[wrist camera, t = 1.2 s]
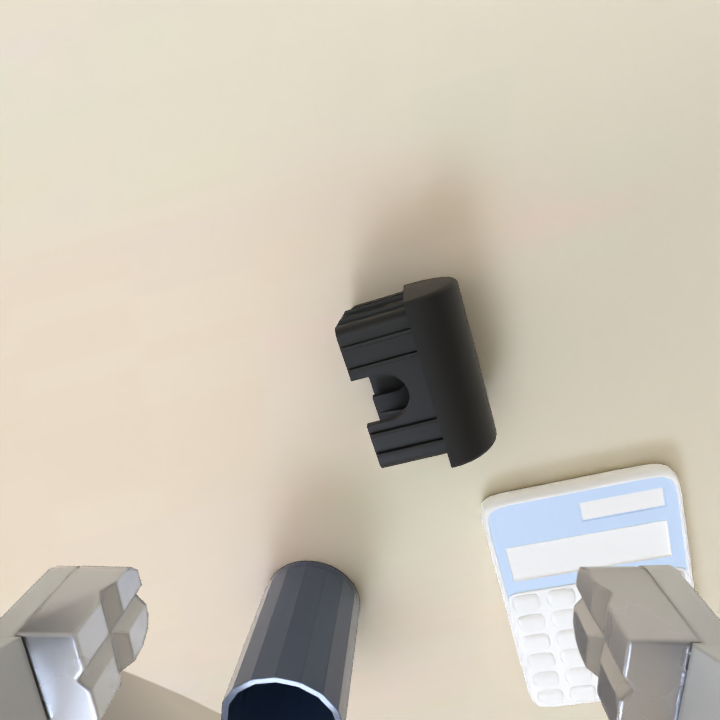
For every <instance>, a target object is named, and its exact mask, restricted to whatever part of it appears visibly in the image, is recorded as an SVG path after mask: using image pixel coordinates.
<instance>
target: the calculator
mask: <svg viewBox="0 0 720 720" xmlns="http://www.w3.org/2000/svg"><path fill="white" fill-rule="evenodd" d="M481 518H482V522H483V527H484V530H485V534H486V538H487V542H488V545H489V549H490V553H491V556H492V560H493V564H494V568H495V571H496V575H497V579H498V582H499V586H500V590H501V593H502V597H503V601H504V604H505V608H506V612H507V616H508V619H509V623H510V627H511V630H512V634H513V638H514V641H515V645H516V649H517V652H518V656H519V660H520V664H521V667H522V671H523V675H524V678H525V682H526V685H527V689H528V692H529V695H530V697H531V699H532V700H533V702H534V703H535V704H536V705H538V706H542V707H555V706H565V705H573V704H582V703H591V702H599V701H600V698H599V696H598V694H597V685H598V677H597V676H596V675H595V674H594V673H592V672H591V671H590V670H589V669H588V668H586V667H585V665H584V662H583V660H582V658H581V655H580V653H579V650H578V647H577V643H576V640H575V634H574V626H573V612H574V605H575V604H576V603H577V602H578V601H579V600H580V599H581V598H582V597H581V595H580V593H579V591H578V589H577V587H576V580H577V573H578V571H579V569H580V567H603V566H641V565H671V566H672V567H674V568H676V569H677V570H678V571H679V572H680V573H681V575H682V576H683V577H684V578H685V579H686V580H687V582H688V583H689V584H690V585H691V586H692V588H693V589H694V583H693V575H692V567H691V560H690V552H689V544H688V537H687V529H686V521H685V513H684V506H683V499H682V492H681V487H680V483H679V480H678V478H677V476H676V474H675V473H674V472H673V471H672V470H671V469H670V468H669V467H668V466H665V465H662V464H646V465H640V466H634V467H629V468H624V469H619V470H614V471H609V472H604V473H599V474H594V475H589V476H584V477H579V478H574V479H569V480H564V481H559V482H554V483H549V484H544V485H539V486H534V487H529V488H524V489H519V490H514V491H509V492H504V493H500V494H496V495H493V496H490V497H488V498H486V499H485V500H484V501H483V502H482V505H481Z"/></svg>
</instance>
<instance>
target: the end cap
mask: <svg viewBox="0 0 720 720" xmlns="http://www.w3.org/2000/svg"><path fill="white" fill-rule="evenodd" d="M335 332H336V338H337V341H338V344H339V347H340V350H341V353H342V355H343V358H344V361H345V364H346V367H347V370H348V373H349V376H350V379H351V381H354V380H358V379H362V378H366V377H369V379H370V382H371V385H372V388H373V391H374V394H375V395H373V400H374V403H375V406H376V409H377V412H378V415H379V418H380V421H376V422H372V423H368V424H367V428H368V431H369V434H370V437H371V440H372V443H373V446H374V449H375V452H376V455H377V458H378V461H379V463H380V466H381V467H382V468H384V467H389V466H393V465H398V464H402V463H406V462H411V461H415V460H419V459H424V458H428V457H432V456H437V455H441V454H446V453H447V454H448V457H449V460H450V464H451V467H452V468H453V467H457V466H461V465H463V464H466V463H468V462H471V461H473V460H475V459H477V458H478V457H480V456H481V455H483V454H484V453H485V452H487V451H488V450H489V449H490V447H491V446H492V445H493V443H494V442H495V439H496V435H497V433H496V428H495V424H494V420H493V416H492V412H491V408H490V405H489V401H488V397H487V393H486V389H485V385H484V381H483V378H482V374H481V370H480V366H479V362H478V358H477V355H476V351H475V347H474V343H473V339H472V335H471V331H470V328H469V324H468V320H467V316H466V312H465V308H464V305H463V301H462V297H461V293H460V289H459V285H458V282H457V280H456V279H454V278H452V277H438V278H432V279H427V280H422V281H418V282H414V283H410V284H407V285H404V291H403V292H400V293H396V294H393V295H390V296H386V297H383V298H380V299H376V300H373V301H370V302H366V303H363V304H360V305H356V306H354V307H353V308H352V309H351V310H348V311H345V313H344V315H343V316H342V319H340V321H339V323H338V324H337V326H336V328H335Z"/></svg>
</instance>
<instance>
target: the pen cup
mask: <svg viewBox="0 0 720 720" xmlns="http://www.w3.org/2000/svg"><path fill="white" fill-rule="evenodd" d="M359 605H360V604H359V596H358V593H357V590H356V588H355V587H354V585H353V583H352V582H351V581H350V580H349V579H348V578H347V577H346V576H345V575H344V574H343V573H342V572H340V571H339V570H337V569H336V568H333V567H331V566H329V565H326V564H323V563H319V562H313V561H301V562H295V563H291V564H288V565H286V566H284V567H282V568H281V569H279V570H278V571H277V572H276V573H275V574H274V575H273V576H272V577H271V579H270V581H269V583H268V586H267V587H266V589H265V591H264V594H263V596H262V599H261V602H260V604H259V607H258V610H257V612H256V615H255V618H254V620H253V623H252V625H251V628H250V631H249V633H248V636H247V639H246V641H245V644H244V647H243V649H242V652H241V655H240V657H239V660H238V663H237V665H236V668H235V670H234V673H233V676H232V678H231V681H230V684H229V686H228V689H227V692H226V694H225V697H224V700H223V702H222V714H221V720H346V715H347V707H348V699H349V690H350V682H351V674H352V666H353V658H354V650H355V642H356V633H357V625H358V617H359V609H360V607H359Z"/></svg>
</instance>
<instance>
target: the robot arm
mask: <svg viewBox="0 0 720 720" xmlns="http://www.w3.org/2000/svg"><path fill="white" fill-rule="evenodd" d="M141 585H142V584H141V580H140V576H139V572H138V570H137V569H134V568H132V567H110V566H56V567H54V568H51V569H49V570H48V571H47V572H46V573H45V574H44V575H43V576H42V577H41V578H40V579H39V580H38V581H37V582H36V583H35V584H34V585H33V586H32V587H31V588H30V589H29V590H28V591H27V592H26V593H25V594H24V595H23V596H22V597H21V598H20V599H19V600H18V601H17V602H16V603H15V604H14V605H13V606H12V607H11V608H10V609H9V610H8V611H7V612H6V613H5V614H4V615H3V616H2V617H1V618H0V720H101V718H102V716H103V715H104V713H105V711H106V709H107V708H108V706H109V704H110V703H111V701H112V699H113V697H114V696H115V694H116V692H117V691H118V689H119V687H120V685H121V679H120V671H122V670H123V669H125V668H126V667H127V666H128V665H130V664H131V663H132V662H134V661H135V659H136V658H137V656H138V654H139V652H140V650H141V648H142V647H143V644H144V640H145V637H146V633H147V630H148V611H147V606H146V604H145V603H144V602H143V601H142V600H141V599H140V598H139V597H138V596H137V595H136V593H137V592H138V590H139V588H140V587H141ZM576 587H577V589H578V591H579V593H580V595H581V597H582V598H581V599H580V600H579V601H578V602H577V603H576V604H575V605H574V612H573V626H574V634H575V640H576V643H577V647H578V650H579V653H580V655H581V658H582V660H583V662H584V665H585V667H586V668H588V669H589V670H590V671H591V672H592V673H594V674H595V675H596V676H597V677H598V685H597V694H598V696H599V698H600V701H601V703H602V705H603V707H604V709H605V712H606V714H607V716H608V718H609V720H720V619H719V618H718V617H717V616H716V615H715V614H714V612H713V611H712V610H711V609H710V608H709V606H708V605H707V604H706V603H705V602H704V601H703V599H702V598H701V597H700V596H699V595H698V593H697V592H696V591H695V590H694V589H693V588H692V586H691V585H690V584H689V583H688V582H687V580H686V579H685V578H684V577H683V576H682V575H681V573H680V572H679V571H678V570H677V569H676V568H674V567H672V566H671V565H641V566H603V567H580V569H579V571H578V573H577V580H576Z"/></svg>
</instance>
